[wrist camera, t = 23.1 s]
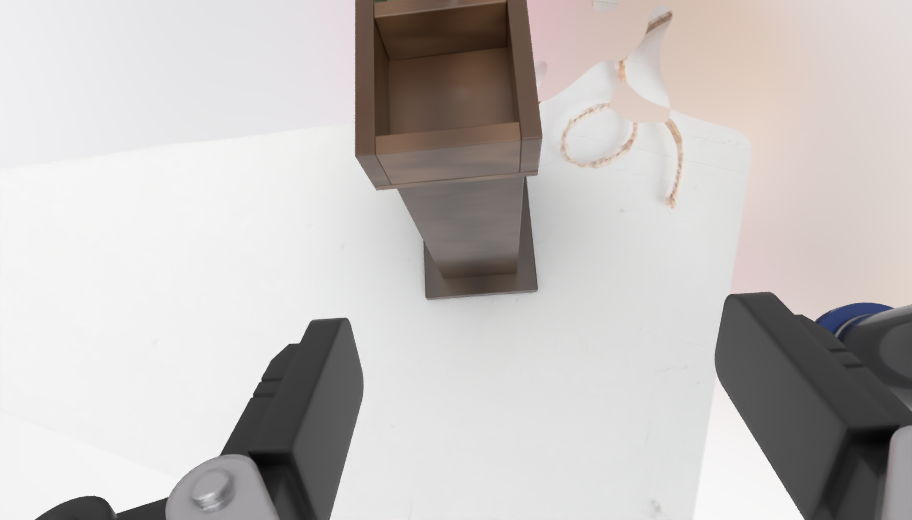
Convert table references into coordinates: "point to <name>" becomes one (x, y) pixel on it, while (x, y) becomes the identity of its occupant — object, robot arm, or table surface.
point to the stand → (474, 237)
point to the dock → (444, 92)
